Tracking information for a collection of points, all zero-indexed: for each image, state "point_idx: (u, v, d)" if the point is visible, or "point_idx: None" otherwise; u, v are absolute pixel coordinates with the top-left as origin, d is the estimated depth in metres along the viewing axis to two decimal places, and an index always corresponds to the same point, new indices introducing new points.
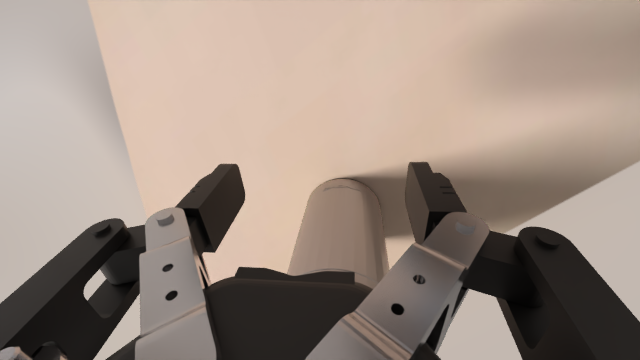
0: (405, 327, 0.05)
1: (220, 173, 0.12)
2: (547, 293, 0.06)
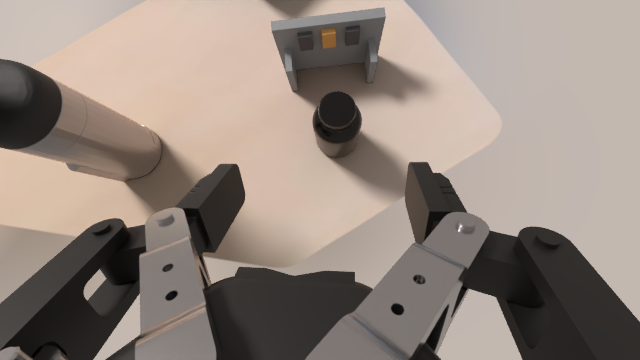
0: (405, 327, 0.05)
1: (220, 173, 0.12)
2: (547, 293, 0.06)
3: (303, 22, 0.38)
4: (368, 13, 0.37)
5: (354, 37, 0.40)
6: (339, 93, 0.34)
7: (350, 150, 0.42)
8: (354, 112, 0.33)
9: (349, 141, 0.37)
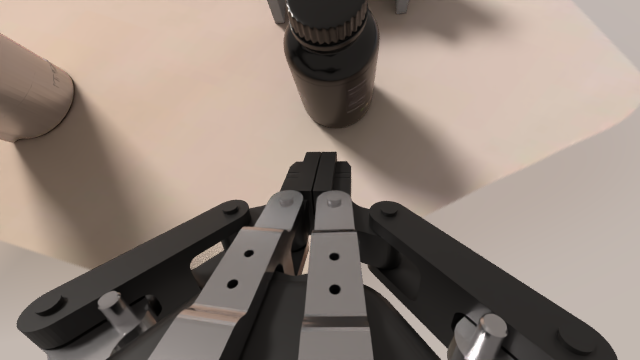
0: (349, 298, 0.05)
1: (312, 160, 0.12)
2: (410, 253, 0.07)
3: None
4: None
5: None
6: None
7: (356, 113, 0.24)
8: (362, 0, 0.15)
9: (351, 80, 0.18)
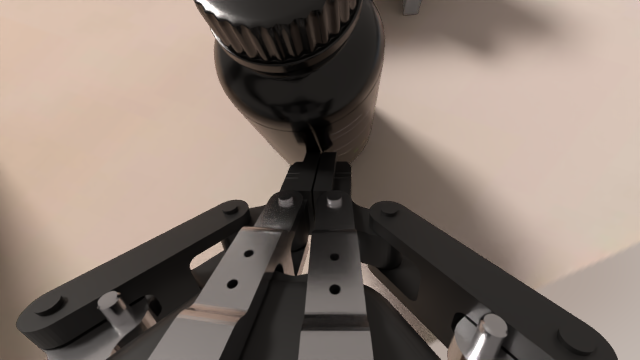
0: (349, 298, 0.05)
1: (312, 160, 0.12)
2: (410, 253, 0.07)
3: None
4: None
5: None
6: None
7: (347, 156, 0.16)
8: None
9: (333, 122, 0.10)
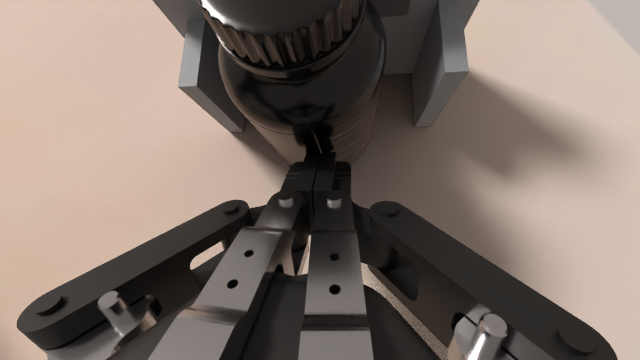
0: (349, 298, 0.05)
1: (312, 160, 0.12)
2: (410, 253, 0.07)
3: None
4: None
5: None
6: None
7: (347, 159, 0.16)
8: None
9: (333, 126, 0.10)
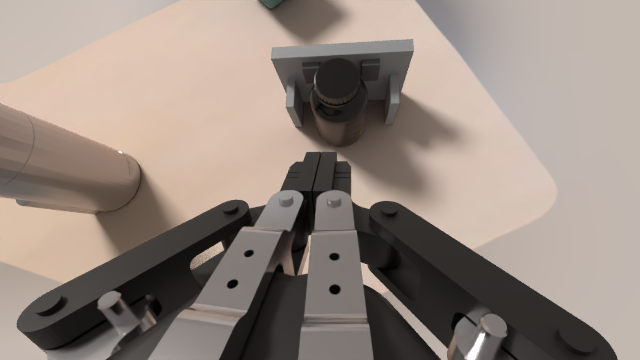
0: (349, 298, 0.05)
1: (312, 160, 0.12)
2: (410, 253, 0.07)
3: (310, 51, 0.31)
4: (392, 45, 0.30)
5: (372, 72, 0.32)
6: (342, 60, 0.28)
7: (353, 138, 0.36)
8: (357, 83, 0.27)
9: (349, 122, 0.31)
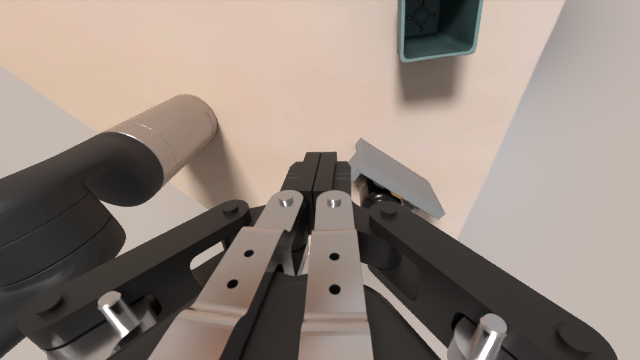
0: (349, 298, 0.05)
1: (312, 160, 0.12)
2: (410, 253, 0.07)
3: (386, 183, 0.41)
4: (431, 210, 0.43)
5: None
6: None
7: None
8: None
9: None
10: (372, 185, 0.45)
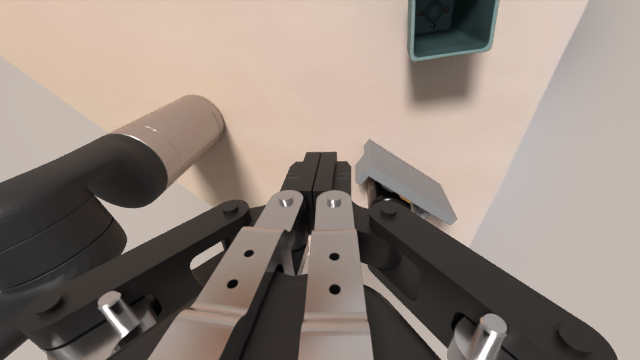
0: (349, 298, 0.05)
1: (312, 160, 0.12)
2: (410, 253, 0.07)
3: (394, 186, 0.39)
4: (443, 215, 0.41)
5: None
6: None
7: None
8: None
9: None
10: (380, 188, 0.44)
